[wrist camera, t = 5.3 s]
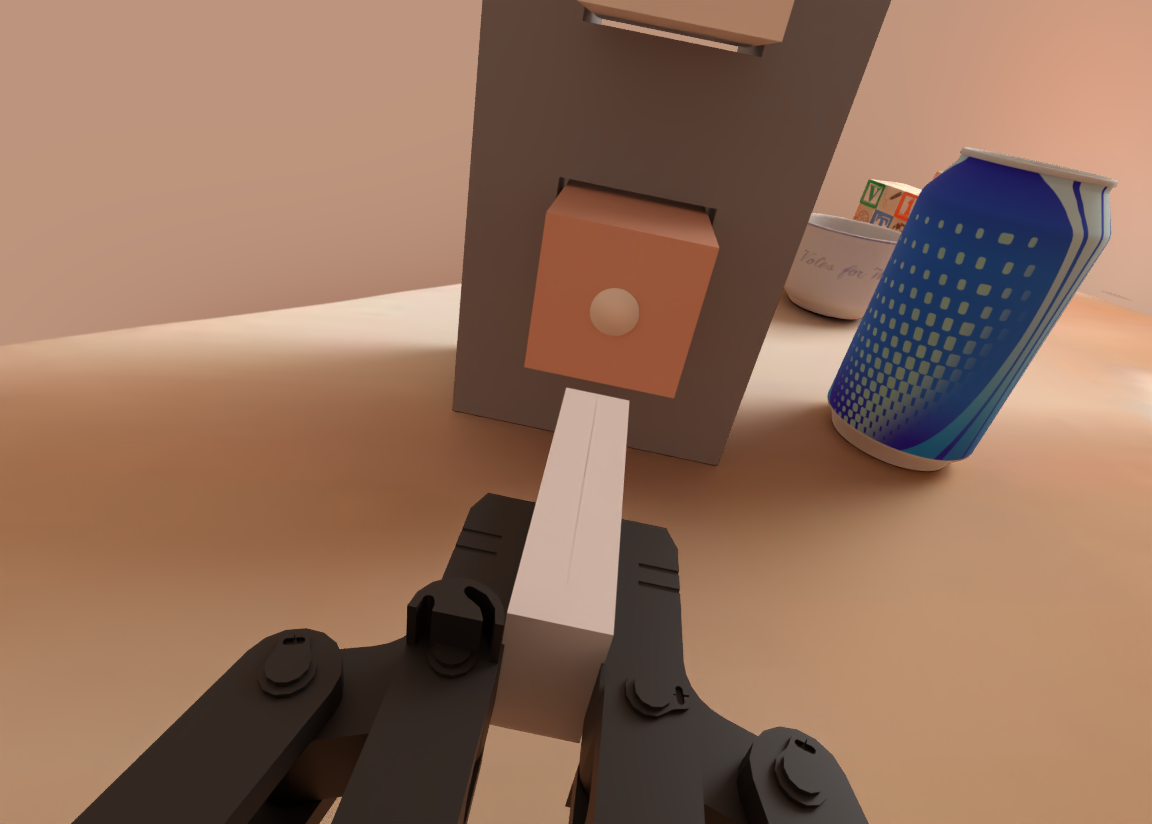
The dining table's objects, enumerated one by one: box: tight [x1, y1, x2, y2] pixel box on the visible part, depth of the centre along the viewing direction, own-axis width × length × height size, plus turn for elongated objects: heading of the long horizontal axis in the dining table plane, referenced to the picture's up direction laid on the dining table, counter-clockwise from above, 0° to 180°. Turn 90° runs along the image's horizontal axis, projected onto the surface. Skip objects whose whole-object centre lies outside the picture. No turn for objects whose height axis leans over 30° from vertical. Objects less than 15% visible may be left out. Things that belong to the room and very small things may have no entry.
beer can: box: [828, 147, 1118, 471], centre depth 32 cm, size 8×8×16 cm
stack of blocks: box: [853, 171, 942, 233], centre depth 70 cm, size 21×6×12 cm, turn 19°
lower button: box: [524, 179, 719, 398], centre depth 25 cm, size 8×6×6 cm
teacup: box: [784, 213, 901, 319], centre depth 54 cm, size 14×11×8 cm
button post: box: [452, 0, 891, 465], centre depth 27 cm, size 8×14×27 cm, turn 84°
